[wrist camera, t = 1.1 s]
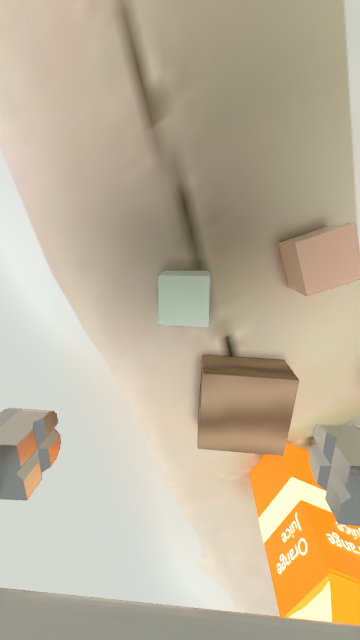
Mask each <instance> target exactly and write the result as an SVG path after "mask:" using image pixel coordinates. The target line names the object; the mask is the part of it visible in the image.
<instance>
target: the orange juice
mask: <svg viewBox="0 0 360 640" xmlns="http://www.w3.org/2000/svg"><path fill="white" fill-rule="evenodd" d="M309 457H310V452H308V451H306V450H304V449H301V448H299V447H297V446H294V445H292V444H289V443H287V442H286V447H285V452H284V456H277V455H266V454H264V455H263V457H262V458H261V459H260V461H259V462H258V464H257V465H256V466H255V468H254V469H253V471H252V472H251V473H250V475H249V476H250V480H251V485H252V489H253V494H254V499H255V503H256V508H257V512H258V517H259V524H260V528H261V533H262V538H263V542H264V544H265V549H266V554H267V558H268V563H269V567H270V572H271V576H272V581H273V586H274V590H275V595H276V599H277V604H278V609H279V613H280V617H289V618H298V619H308V620H318V621H327V622H337V623H347V624H357V625H360V526H351V525H342V524H338V523H337V521H336V519H335V517H334V515H333V513H332V511H331V510H330V508H329V506H328V504H327V502H326V500H325V496H326V491H325V490H324V489H323V488H321V487H320V486H319V485H318V484H317V483H316V481H315V479H314V477H313V474H312V471H311V467H310V459H309Z"/></svg>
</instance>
